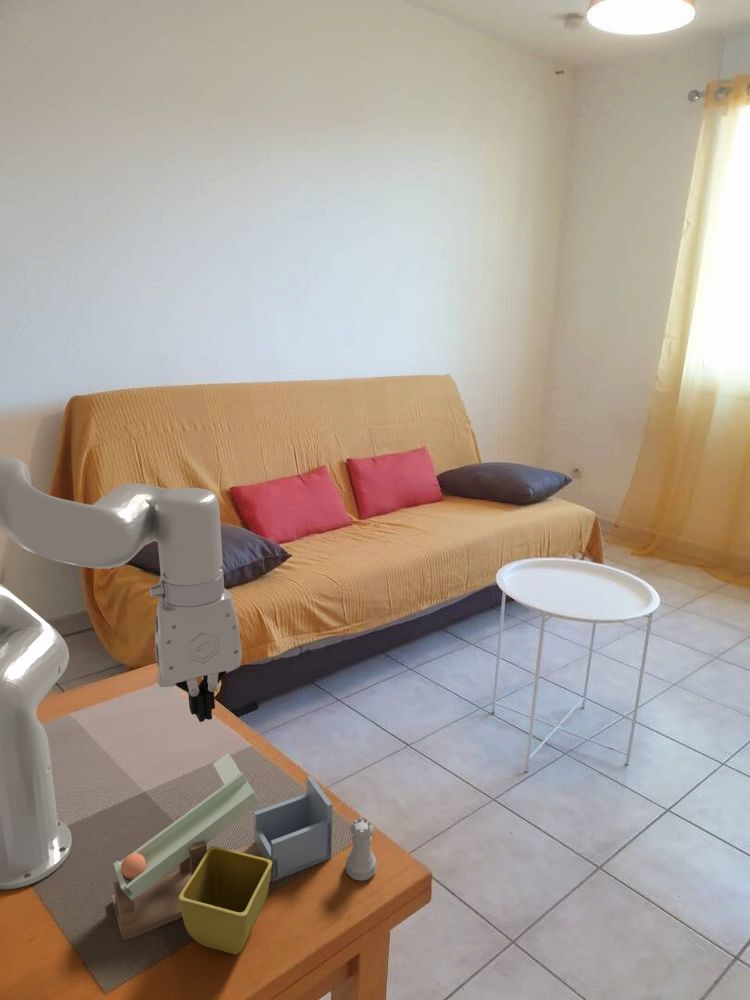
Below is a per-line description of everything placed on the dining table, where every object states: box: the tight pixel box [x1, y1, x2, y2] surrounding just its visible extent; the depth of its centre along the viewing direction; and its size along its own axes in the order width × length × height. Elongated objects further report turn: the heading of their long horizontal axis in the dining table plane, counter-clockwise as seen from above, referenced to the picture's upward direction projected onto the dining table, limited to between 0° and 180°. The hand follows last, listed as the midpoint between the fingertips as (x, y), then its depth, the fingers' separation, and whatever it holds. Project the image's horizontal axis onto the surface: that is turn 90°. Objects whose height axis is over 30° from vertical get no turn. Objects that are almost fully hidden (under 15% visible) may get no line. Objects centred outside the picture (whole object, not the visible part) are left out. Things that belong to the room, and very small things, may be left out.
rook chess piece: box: [345, 816, 378, 882], centre depth 100 cm, size 4×4×8 cm
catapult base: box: [111, 813, 274, 942], centre depth 96 cm, size 7×20×10 cm, turn 120°
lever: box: [113, 752, 261, 901], centre depth 97 cm, size 11×19×3 cm, turn 120°
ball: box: [121, 852, 146, 880], centre depth 91 cm, size 3×3×3 cm
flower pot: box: [178, 845, 272, 955], centre depth 89 cm, size 9×9×9 cm
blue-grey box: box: [253, 775, 333, 882], centre depth 103 cm, size 7×9×9 cm
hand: (202, 715), depth 95 cm, fingers closed
